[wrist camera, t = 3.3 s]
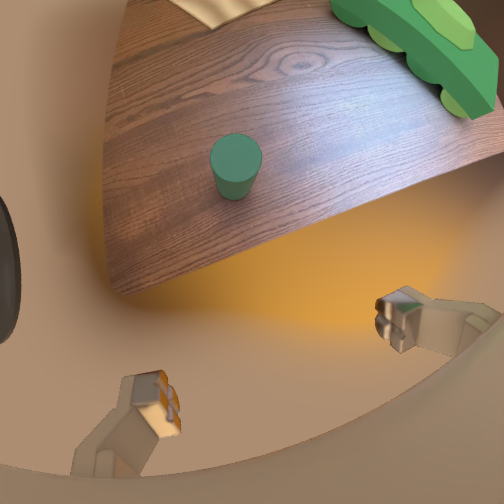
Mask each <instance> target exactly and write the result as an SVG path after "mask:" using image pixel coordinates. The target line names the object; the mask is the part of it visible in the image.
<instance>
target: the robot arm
mask: <svg viewBox="0 0 504 504" xmlns="http://www.w3.org/2000/svg"><path fill="white" fill-rule="evenodd" d="M375 309H376V310H377V311H378V314H377V316H376V318H375V326H376V330H377V332H378V334H379V335H380V336H381V337H382V338H383V339H384V340H389V341H390V345H391V346H392V347H393V348H394V349H395V350H396V351H398V352H399V353H400V354H401V353H403V352H405V351H407V350H409V349H410V348H412V347H414V346H416V345H417V346H418V347H422V348H425V349H428V350H431V351H434V352H438V353H441V354H445V355H448V356H451V357H454V358H452V359H451V360H450V361H449V362H447V363H446V364H445V365H443V366H442V367H441V368H439V369H438V370H436V371H435V372H434V373H432V374H431V375H429V376H428V377H426V378H425V379H423V380H422V381H421V382H419V383H417V384H416V385H414V386H413V387H411V388H410V389H408V390H407V391H405V392H404V393H402V394H400V395H398V396H397V397H395V398H393V399H392V400H390V401H388V402H387V403H385V404H383V405H381V406H379V407H378V408H376V409H374V410H372V411H370V412H368V413H366V414H364V415H363V416H360V417H359V418H356V419H354V420H353V421H350V422H348V423H346V424H344V425H342V426H340V427H337V428H335V429H333V430H331V431H328V432H326V433H324V434H321V435H319V436H317V437H314V438H311V439H309V440H306V441H304V442H301V443H299V444H296V445H293V446H290V447H287V448H284V449H281V450H278V451H275V452H272V453H268V454H265V455H262V456H258V457H255V458H251V459H247V460H243V461H240V462H235V463H231V464H227V465H222V466H218V467H213V468H208V469H202V470H196V471H190V472H183V473H176V474H168V475H159V476H146V477H141V476H140V473H141V471H142V469H143V468H144V466H145V464H146V462H147V461H148V459H149V457H150V455H151V453H152V452H153V450H154V448H155V446H156V445H157V443H158V441H159V438H163V437H168V436H173V435H179V434H181V420H180V418H179V417H178V415H177V414H178V412H179V411H180V406H179V401H178V397H177V395H176V392H175V390H174V388H173V387H172V386H171V385H169V384H168V377H167V375H166V374H165V372H164V371H163V370H158V371H153V372H147V373H142V374H137V375H131V376H125V377H124V378H122V381H121V386H120V391H119V396H118V402H117V407H116V409H112V410H111V411H110V412H109V413H108V415H107V416H106V417H105V418H104V419H103V420H102V421H101V422H100V423H99V424H98V425H97V426H96V428H94V430H93V431H92V432H91V433H90V434H89V435H88V436H87V437H86V438H85V439H84V441H82V443H81V444H80V445H79V446H78V447H77V448H76V449H75V452H74V457H73V462H72V467H71V472H70V476H66V475H58V474H49V473H43V472H37V471H31V470H26V469H21V468H17V467H12V466H8V465H4V464H0V504H504V313H503V314H501V313H500V312H498V311H496V310H494V309H493V308H491V307H489V306H487V305H485V304H484V303H474V302H463V301H453V300H443V299H434V300H432V299H431V298H429V297H427V296H425V295H424V294H422V293H420V292H419V291H417V290H415V289H413V288H412V287H410V286H404V287H402V288H400V289H398V290H396V291H395V292H393V293H390V294H388V295H386V296H384V297H382V298H379V299H377V301H376V305H375Z"/></svg>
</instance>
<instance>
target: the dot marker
mask: <svg viewBox="0 0 504 504" xmlns="http://www.w3.org/2000/svg"><path fill="white" fill-rule="evenodd" d="M210 163H211V167H212V170H213V174H214V177H215V181H216V185H217V188H218V191H219V192H220V194H221V195H222V196H223V197H225V198H227V199H230V200H238V199H241V198H243V197H245V196H246V195H247V194H248V193H249V191H250V189H251V187H252V184H253V182H254V180H255V177H256V175H257V173H258V171H259V168H260V166H261V163H262V153H261V150H260V148H259V146H258V144H257V143H256V142H255V141H254V140H253V139H252V138H250V137H248V136H246V135H243V134H230V135H227V136H224V137H222V138H221V139H219V140H218V141H217V142H216V143H215V145H214V146H213V148H212V150H211V154H210Z"/></svg>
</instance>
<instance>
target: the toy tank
mask: <svg viewBox="0 0 504 504" xmlns="http://www.w3.org/2000/svg"><path fill="white" fill-rule="evenodd" d="M330 1H331V6H332V10H333V12H334V14H335V15H336V16H337V17H338V18H339V19H340V20H341V21H342V22H344V23H345V24H348V25H350V26H353V27H365V26H368V32H369V34H370V36H371V37H372V39H373V40H374V41H375V42H376V43H377V44H378V45H379V46H381V47H383V48H384V49H386V50H389V51H392V52H403V51H404V52H406V53H407V56H406V61H407V64H408V66H409V68H410V70H411V71H412V72H413V73H414V74H415V75H416V76H417V77H419V78H420V79H421V80H423V81H425V82H428V83H432V84H440V85H441V86H442V87H443V90H442V92H441V101H442V104H443V105H444V107H445V108H446V109H447V110H448V111H449V112H450V113H452V114H454V115H456V116H459V117H464V118H467V117H470V118H471V119H472V120H473V119H476V118H478V117H480V116H483V115H485V114H488V113H490V112H492V111H494V106H495V99H496V90H497V80H498V64H499V59H498V57H497V56H496V55H495V54H494V52H493V51H492V50H491V49H490V48H489V47H488V46H487V44H486V43H485V42H484V41H483V40H482V39H481V38H480V37H479V36H478V35H477V33H476V32H475V28H474V26H473V23H472V21H471V19H470V18H469V17H468V16H467V14H466V13H465V12H464V11H463V10H462V9H461V8H460V7H459V6H458V5H457V4H456V3H455V2H454V1H452V0H330Z"/></svg>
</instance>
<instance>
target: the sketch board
mask: <svg viewBox="0 0 504 504" xmlns="http://www.w3.org/2000/svg"><path fill="white" fill-rule="evenodd" d="M169 1H170V2H172V3H173V4H175V5H176V6H178V7H180V8H181V9H183V10H184V11H186V12H187V13H188V14H190V15H191V16H193V17H194V18H196V19H197V20H199V21H200V22H201V23H203V24H204V25H205V26H207V27H208V28H209V29H211V30H212V31H213V30H215V29H217V28H219V27H221V26H223V25H225V24H227V23H229V22H231V21H233V20H235V19H237V18H239V17H241V16H243V15H245V14H248V13H250V12H252V11H255V10H257V9H259V8H262V7H264V6H267V5H269V4H272V3H274V2H277V1H280V0H169Z"/></svg>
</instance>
